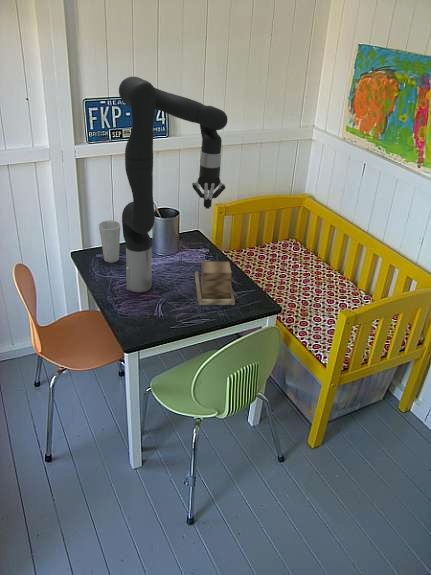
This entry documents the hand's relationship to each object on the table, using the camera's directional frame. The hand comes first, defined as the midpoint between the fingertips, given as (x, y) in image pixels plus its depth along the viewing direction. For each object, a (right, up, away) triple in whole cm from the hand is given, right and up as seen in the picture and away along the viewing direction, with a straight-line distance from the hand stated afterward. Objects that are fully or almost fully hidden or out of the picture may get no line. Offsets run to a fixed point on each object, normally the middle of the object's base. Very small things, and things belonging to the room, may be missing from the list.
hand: (207, 207), depth 208 cm
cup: (-40, -19, +16) cm, 47 cm away
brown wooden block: (+3, -33, -5) cm, 34 cm away
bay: (+3, -32, -2) cm, 32 cm away
